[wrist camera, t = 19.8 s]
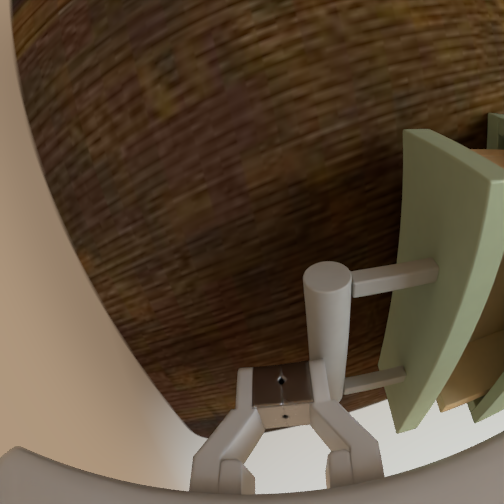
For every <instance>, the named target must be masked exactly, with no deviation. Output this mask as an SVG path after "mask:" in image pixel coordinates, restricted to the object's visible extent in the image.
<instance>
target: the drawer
mask: <svg viewBox="0 0 504 504" xmlns="http://www.w3.org/2000/svg"><path fill="white" fill-rule="evenodd" d="M303 286H304V297H305V307H306V319H307V331H308V344H309V358H310V361H311V360H317V359H323V360H324V362H325V368H326V374H327V380H328V386H329V393H330V399H331V400H333V399H335V400H336V401H337V402H338V403H339V402H340V400H341V399H342V395H343V393H344V395H346V394H351V393H356V392H361V391H366V390H371V389H375V388H379V387H384V388H385V391H386V395H387V399H388V402H389V406H390V409H391V414H392V417H393V421H394V425H395V429H396V433H397V434H398V433H402V432H405V431H408V430H411V429H415V428H416V427H417V426H418V425H419V424H420V422H421V421H422V419H423V418H424V416H425V415H426V413H427V412H428V411H429V409H430V408H431V406H432V405H433V403H434V402H435V400H437V403H438V406H439V409H440V412H444V411H447V410H450V409H452V408H455V407H458V406H460V405H462V404H465V403H468V402H470V401H472V400H475V399H477V398H479V397H482V396H484V395H486V394H487V393H488V392H489V390H490V389H491V388H492V387H493V385H494V384H495V383H496V381H497V380H498V379H499V377H500V376H501V374H502V373H503V372H504V150H499V149H468V148H467V147H465V146H463V145H461V144H459V143H457V142H455V141H453V140H451V139H449V138H447V137H445V136H443V135H441V134H439V133H437V132H435V131H432V130H430V129H404V130H403V188H402V209H401V223H400V235H399V246H398V255H397V263H396V264H392V265H386V266H380V267H375V268H369V269H363V270H357V271H351V272H350V270H349V269H348V268H347V267H346V266H345V265H343V264H341V263H338V262H333V261H324V262H319V263H316V264H314V265H312V266H310V267H309V268H308V269H307V270H306V271H305V273H304V275H303ZM389 291H393V292H392V298H391V304H390V310H389V315H388V321H387V326H386V331H385V336H384V340H383V345H382V349H381V354H380V358H379V362H378V368H379V371H377V372H372V373H367V374H362V375H358V376H352V377H347V378H345V370H346V360H347V350H348V338H349V324H350V307H351V294H352V296H353V297H354V298H356V297H362V296H368V295H373V294H378V293H384V292H389Z"/></svg>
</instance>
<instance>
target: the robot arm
mask: <svg viewBox="0 0 504 504" xmlns="http://www.w3.org/2000/svg"><path fill="white" fill-rule="evenodd" d="M309 424H310V425H311V426H312V428H313V429H314V430H315V432H316V433H317V434H318V435H319V436H320V438H321V439H322V440H323V441H324V443H325V444H326V445H327V446H328V447H329V449H330V450H331V452H330V454H329V455H328V459H327V465H326V485H327V489H323V490H314V491H305V492H295V493H281V494H257V495H256V494H255V477H254V476H253V475H252V474H251V473H250V472H249V471H248V469H247V468H246V467H245V466H244V465H243V464H244V463H245V461H246V460H247V458H248V457H249V455H250V454H251V452H252V451H253V449H254V447H255V446H256V444H257V443H258V441H259V439H260V438H261V436H262V435H263V433H264V431H265V429H268V428H278V427H287V426H298V425H309ZM0 504H504V431H503V432H501V433H499V434H497V435H495V436H493V437H491V438H489V439H488V440H485V441H484V442H481V443H479V444H477V445H475V446H473V447H470V448H468V449H466V450H464V451H461V452H459V453H457V454H454V455H452V456H449V457H447V458H444V459H441V460H439V461H436V462H433V463H430V464H428V465H425V466H422V467H419V468H416V469H412V470H409V471H406V472H403V473H399V474H395V475H392V476H388V477H384V473H383V466H382V460H381V455H380V450H379V445H378V441H377V440H376V439H375V438H374V437H373V436H372V435H371V434H370V433H369V432H368V431H366V430H365V429H364V428H363V427H362V426H361V425H360V424H359V423H358V422H357V421H356V420H355V419H354V418H353V417H352V416H351V415H350V414H349V413H348V412H347V411H346V410H345V409H344V408H343V407H342V406H341V405H340V404H339V403H338V402H337V401H336V400H335V399H333V400H331V399H330V393H329V386H328V380H327V374H326V368H325V362H324V360H323V359H317V360H311V361H309V362H308V361H301V362H294V363H287V364H280V365H272V366H261V367H247V368H239V370H238V374H237V391H236V408H235V409H232V410H231V411H230V412H229V413H228V414H227V416H226V417H225V418H224V420H223V421H222V422H221V423H220V425H219V426H218V427H217V428H216V430H215V431H214V432H213V433H212V435H211V436H210V437H209V438H208V440H207V441H206V442H205V443H204V444H203V446H202V447H201V448H200V449H199V451H198V452H197V453H196V454H195V455H194V457H193V464H192V472H191V480H190V490H189V492H186V491H179V490H171V489H164V488H157V487H151V486H146V485H140V484H135V483H130V482H126V481H121V480H117V479H113V478H109V477H105V476H101V475H97V474H94V473H90V472H87V471H84V470H81V469H77V468H74V467H71V466H68V465H65V464H63V463H60V462H57V461H54V460H52V459H49V458H47V457H44V456H42V455H39V454H37V453H34V452H32V451H30V450H27V449H25V448H23V447H20V446H16V447H14V448H12V449H10V450H9V451H8V452H7V453H5V454H4V455H3V456H2V457H1V458H0Z"/></svg>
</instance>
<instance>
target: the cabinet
mask: <svg viewBox="0 0 504 504" xmlns="http://www.w3.org/2000/svg"><path fill="white" fill-rule="evenodd" d="M487 149H499V150H504V114H496V113H488V131H487ZM467 404H468V407H469V410H470V412H471V415H472V418H473V421H474V423H476V422H479V421H481V420H483V419H485V418H487V417H489V416H491V415H493V414H495V413H497V412H499V411H501V410H503V409H504V372H503V373H502V374H501V376H500V377H499V379H498V380H497V381H496V383H495V384H494V385H493V387H492V388H491V389H490V390H489V392H488V393H487V394H486V395H484V396H482V397H479V398H477V399H475V400H472V401H470V402H468V403H467Z"/></svg>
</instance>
